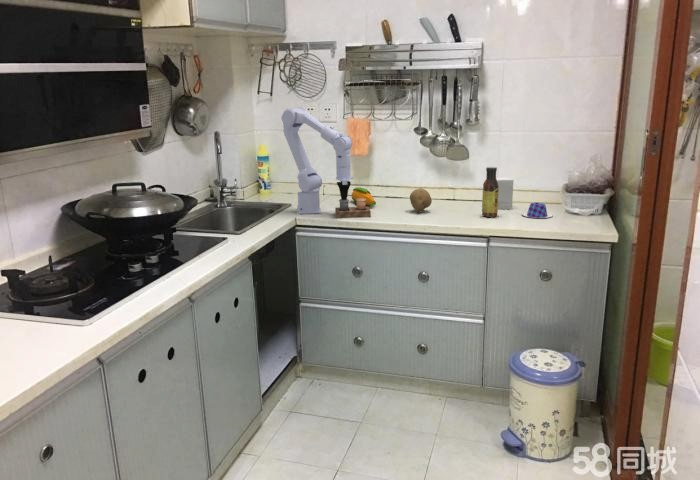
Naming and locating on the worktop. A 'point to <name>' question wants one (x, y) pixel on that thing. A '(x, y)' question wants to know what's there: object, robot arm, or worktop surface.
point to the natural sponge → (420, 199)
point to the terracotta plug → (361, 203)
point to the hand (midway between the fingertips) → (344, 199)
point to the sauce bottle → (490, 194)
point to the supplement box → (505, 192)
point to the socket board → (352, 212)
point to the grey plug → (344, 204)
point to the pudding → (537, 211)
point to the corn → (363, 196)
